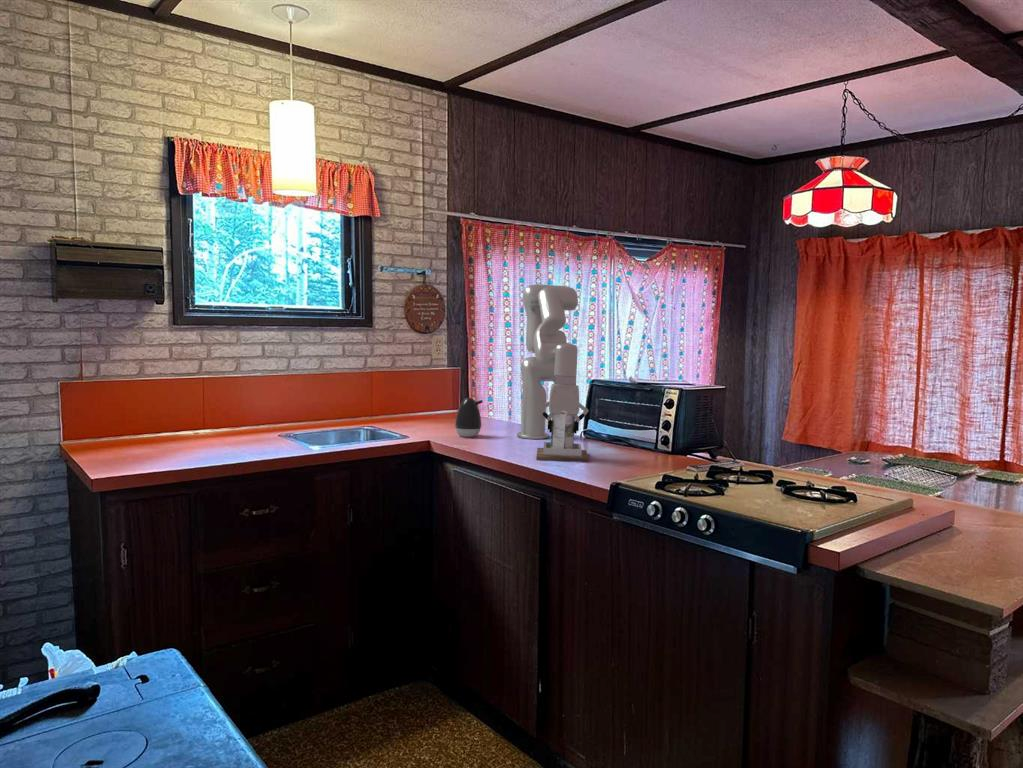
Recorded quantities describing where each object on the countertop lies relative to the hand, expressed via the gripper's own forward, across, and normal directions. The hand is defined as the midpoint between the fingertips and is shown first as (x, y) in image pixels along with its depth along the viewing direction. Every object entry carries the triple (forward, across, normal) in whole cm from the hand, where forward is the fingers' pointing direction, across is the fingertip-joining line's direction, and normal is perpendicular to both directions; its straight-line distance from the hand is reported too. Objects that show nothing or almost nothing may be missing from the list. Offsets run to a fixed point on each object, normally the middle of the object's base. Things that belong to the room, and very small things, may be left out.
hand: (562, 432), depth 250 cm
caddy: (+8, 0, 0) cm, 8 cm away
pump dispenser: (+9, -36, +35) cm, 51 cm away
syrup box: (+7, 0, 0) cm, 7 cm away
